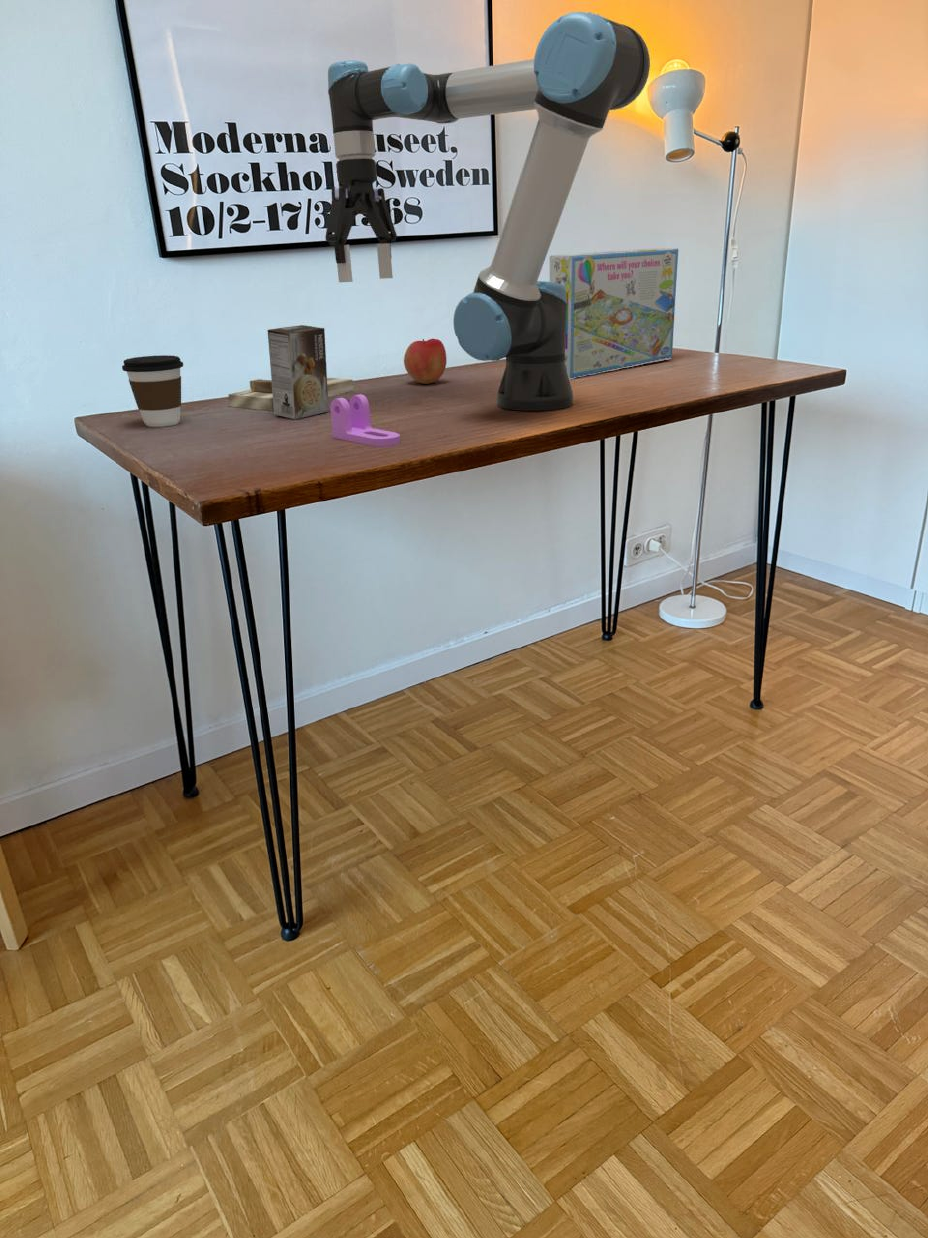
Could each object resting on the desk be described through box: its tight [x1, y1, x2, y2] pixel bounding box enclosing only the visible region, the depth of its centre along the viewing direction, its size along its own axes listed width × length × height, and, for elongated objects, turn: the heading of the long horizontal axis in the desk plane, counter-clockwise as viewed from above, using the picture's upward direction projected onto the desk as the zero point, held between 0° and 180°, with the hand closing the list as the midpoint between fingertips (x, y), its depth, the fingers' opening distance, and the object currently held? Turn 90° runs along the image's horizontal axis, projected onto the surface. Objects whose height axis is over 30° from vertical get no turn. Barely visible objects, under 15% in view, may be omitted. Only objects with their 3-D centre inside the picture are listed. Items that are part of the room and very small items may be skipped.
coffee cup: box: [121, 354, 184, 428], centre depth 163 cm, size 11×11×12 cm
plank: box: [228, 377, 354, 412], centre depth 187 cm, size 12×26×3 cm, turn 148°
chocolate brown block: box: [249, 378, 272, 393], centre depth 179 cm, size 14×6×7 cm, turn 58°
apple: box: [403, 338, 447, 385], centre depth 200 cm, size 10×10×10 cm
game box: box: [549, 247, 679, 378], centre depth 210 cm, size 40×7×27 cm, turn 132°
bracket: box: [329, 393, 401, 448], centre depth 146 cm, size 13×6×7 cm, turn 46°
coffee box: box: [266, 324, 330, 420], centre depth 167 cm, size 9×6×16 cm
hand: (366, 280), depth 171 cm, fingers open, 13 cm apart
